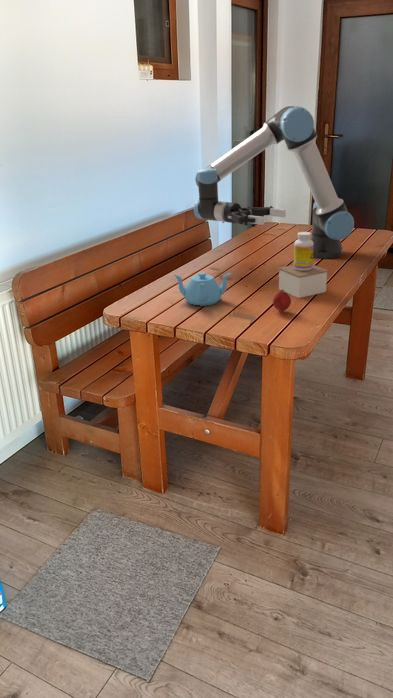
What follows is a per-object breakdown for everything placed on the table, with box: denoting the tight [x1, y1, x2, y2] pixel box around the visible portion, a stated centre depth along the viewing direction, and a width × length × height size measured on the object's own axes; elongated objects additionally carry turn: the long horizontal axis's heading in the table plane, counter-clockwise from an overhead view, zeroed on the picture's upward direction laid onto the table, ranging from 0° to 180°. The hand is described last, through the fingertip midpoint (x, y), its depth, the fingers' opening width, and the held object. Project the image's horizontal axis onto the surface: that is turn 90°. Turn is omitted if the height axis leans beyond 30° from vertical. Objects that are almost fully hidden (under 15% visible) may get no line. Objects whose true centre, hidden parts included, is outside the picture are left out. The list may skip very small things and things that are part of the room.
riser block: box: [278, 264, 329, 299], centre depth 207 cm, size 12×12×8 cm
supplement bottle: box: [293, 231, 314, 271], centre depth 202 cm, size 7×7×13 cm
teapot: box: [173, 271, 232, 307], centre depth 200 cm, size 15×15×10 cm
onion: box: [272, 289, 292, 313], centre depth 187 cm, size 6×6×8 cm
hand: (274, 217), depth 208 cm, fingers open, 13 cm apart
